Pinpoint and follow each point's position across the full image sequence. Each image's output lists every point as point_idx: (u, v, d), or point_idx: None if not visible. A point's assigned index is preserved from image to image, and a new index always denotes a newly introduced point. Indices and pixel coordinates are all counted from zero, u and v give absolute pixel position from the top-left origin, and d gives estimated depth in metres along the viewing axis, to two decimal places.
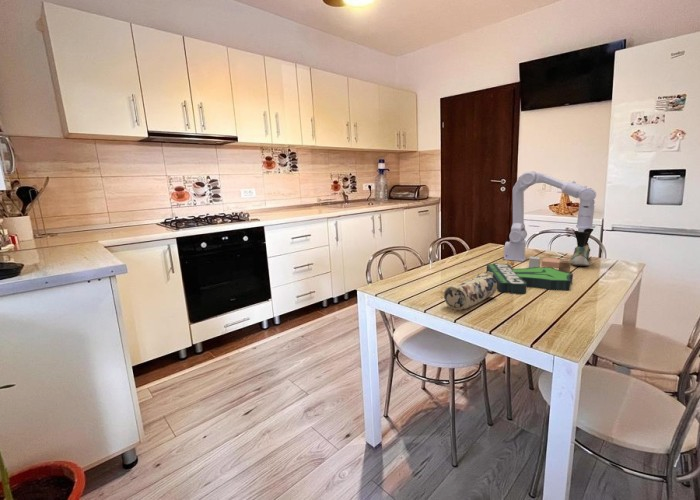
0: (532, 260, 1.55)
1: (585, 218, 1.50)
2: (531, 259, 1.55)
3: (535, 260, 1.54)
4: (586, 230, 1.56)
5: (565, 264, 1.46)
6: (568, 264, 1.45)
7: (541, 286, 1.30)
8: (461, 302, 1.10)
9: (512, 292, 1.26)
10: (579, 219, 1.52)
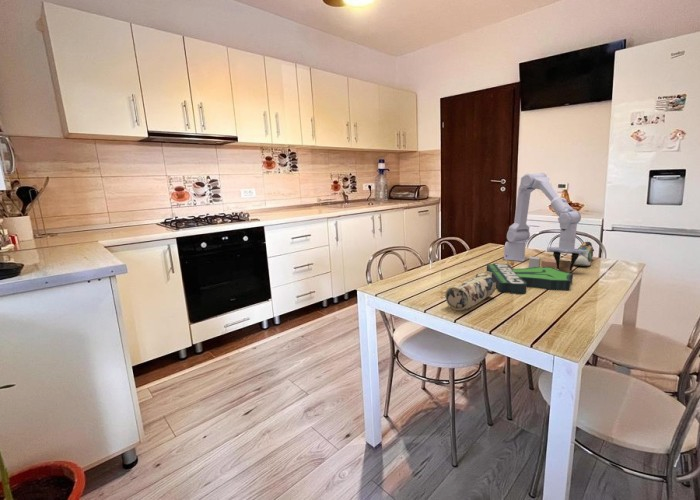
0: (532, 260, 1.55)
1: None
2: (531, 259, 1.55)
3: (535, 260, 1.54)
4: None
5: (565, 264, 1.46)
6: (568, 264, 1.45)
7: (541, 286, 1.30)
8: (463, 303, 1.09)
9: (512, 292, 1.26)
10: None
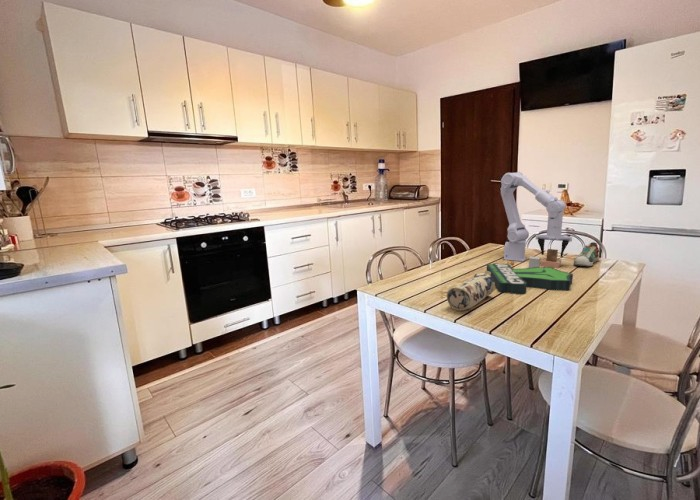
0: (532, 260, 1.55)
1: (547, 228, 1.58)
2: (531, 259, 1.55)
3: (535, 260, 1.54)
4: (562, 242, 1.55)
5: (552, 252, 1.57)
6: (555, 252, 1.56)
7: (541, 286, 1.30)
8: (465, 303, 1.09)
9: (512, 292, 1.26)
10: None
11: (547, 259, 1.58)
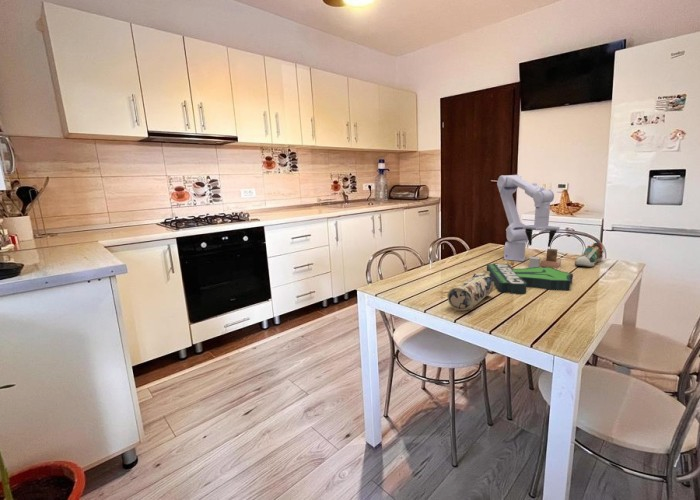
0: (532, 260, 1.55)
1: None
2: (531, 259, 1.55)
3: (535, 260, 1.54)
4: None
5: (552, 252, 1.57)
6: (555, 252, 1.56)
7: (541, 286, 1.30)
8: (467, 303, 1.09)
9: (512, 292, 1.26)
10: None
11: (547, 259, 1.59)
